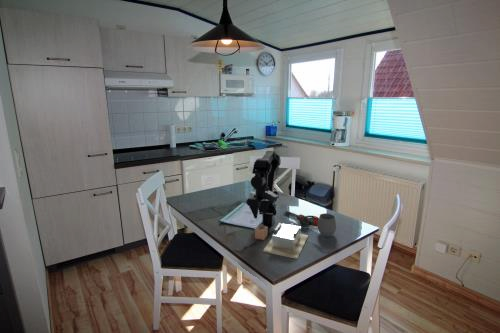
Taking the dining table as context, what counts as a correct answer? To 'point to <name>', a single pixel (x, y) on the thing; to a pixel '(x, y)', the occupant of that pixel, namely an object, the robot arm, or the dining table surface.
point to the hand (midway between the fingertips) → (260, 216)
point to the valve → (305, 219)
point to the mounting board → (287, 253)
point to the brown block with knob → (261, 232)
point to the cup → (326, 225)
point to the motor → (286, 236)
